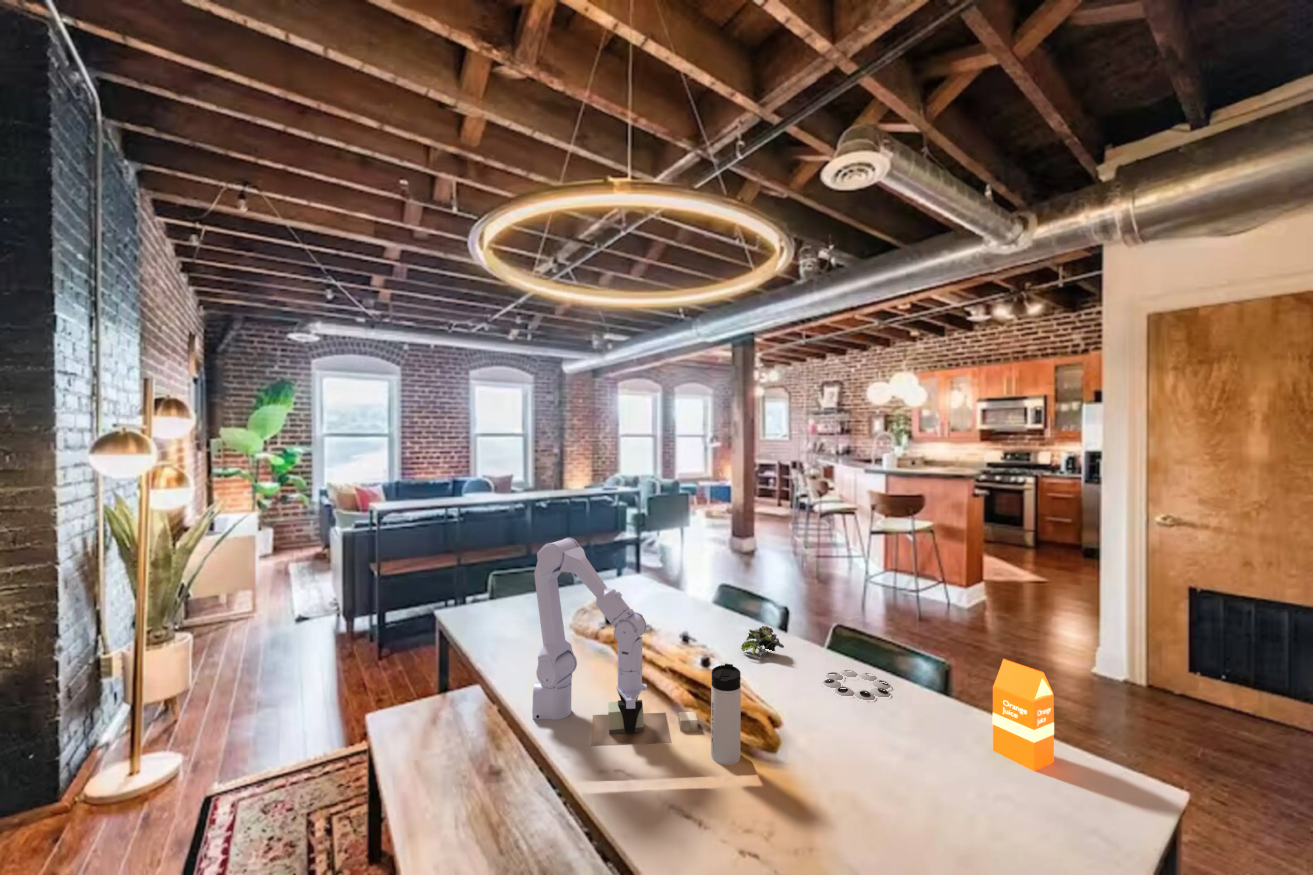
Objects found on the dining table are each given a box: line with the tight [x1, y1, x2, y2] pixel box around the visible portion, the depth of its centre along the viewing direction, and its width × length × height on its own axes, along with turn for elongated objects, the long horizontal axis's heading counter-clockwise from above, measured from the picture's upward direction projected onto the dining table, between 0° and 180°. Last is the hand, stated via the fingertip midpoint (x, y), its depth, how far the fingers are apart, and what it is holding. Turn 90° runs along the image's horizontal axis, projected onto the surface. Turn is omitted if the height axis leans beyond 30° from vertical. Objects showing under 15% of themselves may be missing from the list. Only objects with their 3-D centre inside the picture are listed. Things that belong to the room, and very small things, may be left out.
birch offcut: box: [677, 711, 698, 732], centre depth 132 cm, size 4×4×4 cm
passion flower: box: [740, 625, 785, 657], centre depth 180 cm, size 11×11×12 cm
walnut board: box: [590, 712, 672, 747], centre depth 131 cm, size 18×14×2 cm
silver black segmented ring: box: [822, 669, 892, 700], centre depth 158 cm, size 20×20×2 cm
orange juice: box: [992, 658, 1055, 772], centre depth 123 cm, size 8×9×20 cm
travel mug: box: [710, 663, 742, 766], centre depth 119 cm, size 6×7×20 cm
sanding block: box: [607, 699, 644, 734], centre depth 131 cm, size 8×5×5 cm, turn 95°
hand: (629, 725), depth 131 cm, fingers closed on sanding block, 5 cm apart
